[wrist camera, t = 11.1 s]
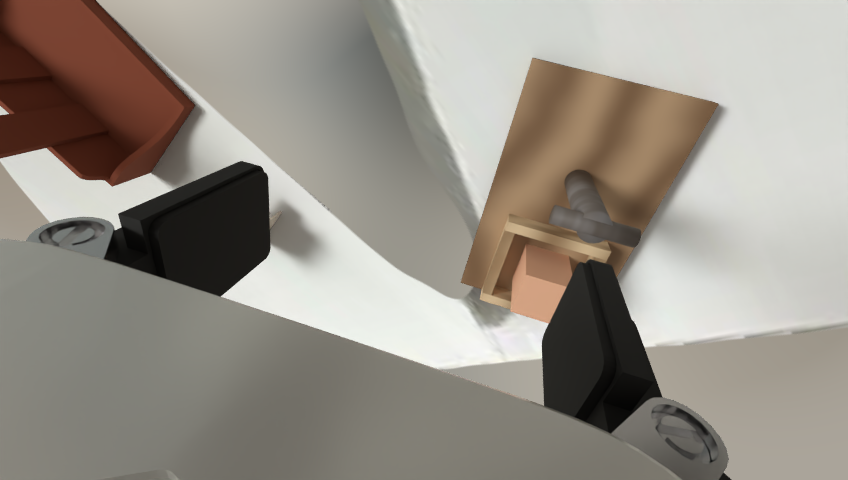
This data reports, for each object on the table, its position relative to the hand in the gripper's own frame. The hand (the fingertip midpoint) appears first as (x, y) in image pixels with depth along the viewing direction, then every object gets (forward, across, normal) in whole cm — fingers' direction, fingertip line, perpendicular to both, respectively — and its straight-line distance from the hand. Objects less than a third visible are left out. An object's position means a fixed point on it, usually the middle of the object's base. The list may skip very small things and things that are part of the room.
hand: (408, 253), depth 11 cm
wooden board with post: (+28, -10, +8) cm, 31 cm away
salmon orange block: (+27, -10, +15) cm, 32 cm away
